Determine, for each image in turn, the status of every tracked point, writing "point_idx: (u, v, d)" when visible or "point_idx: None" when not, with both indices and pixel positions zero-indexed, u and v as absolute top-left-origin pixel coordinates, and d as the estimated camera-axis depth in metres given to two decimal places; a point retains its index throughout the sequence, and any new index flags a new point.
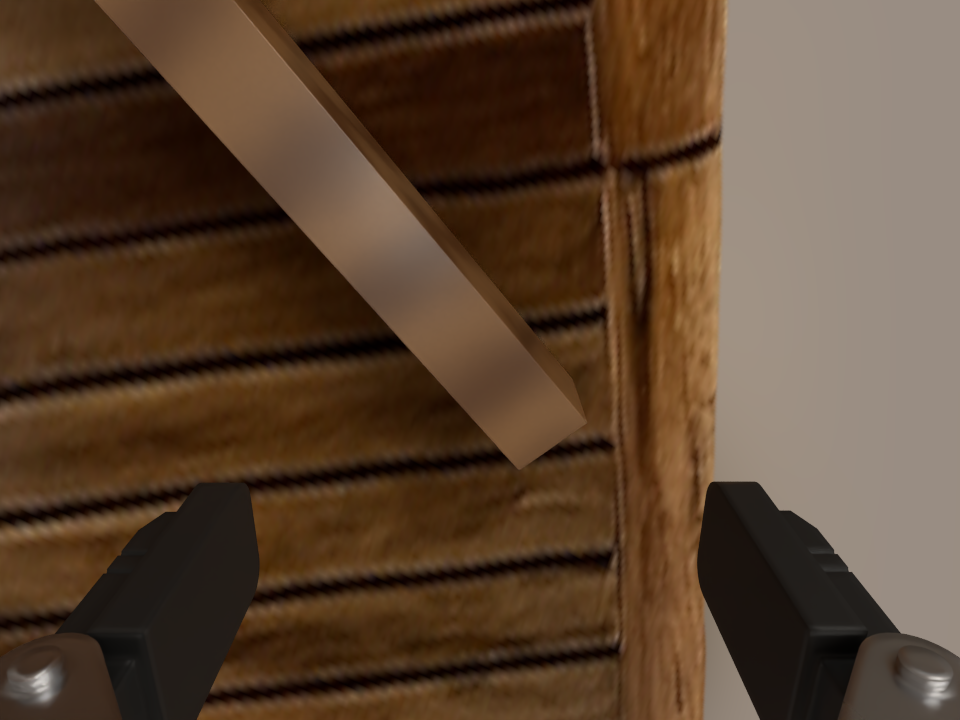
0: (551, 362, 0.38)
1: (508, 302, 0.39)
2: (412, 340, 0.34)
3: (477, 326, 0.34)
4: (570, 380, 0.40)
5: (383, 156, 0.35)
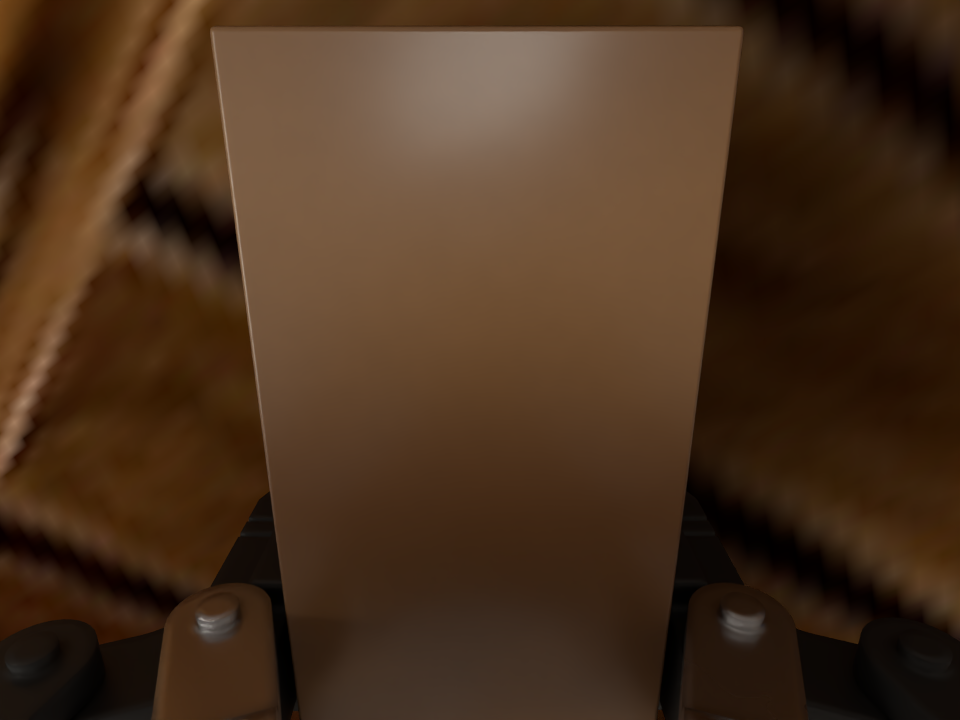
0: None
1: None
2: None
3: (385, 712, 0.09)
4: None
5: None
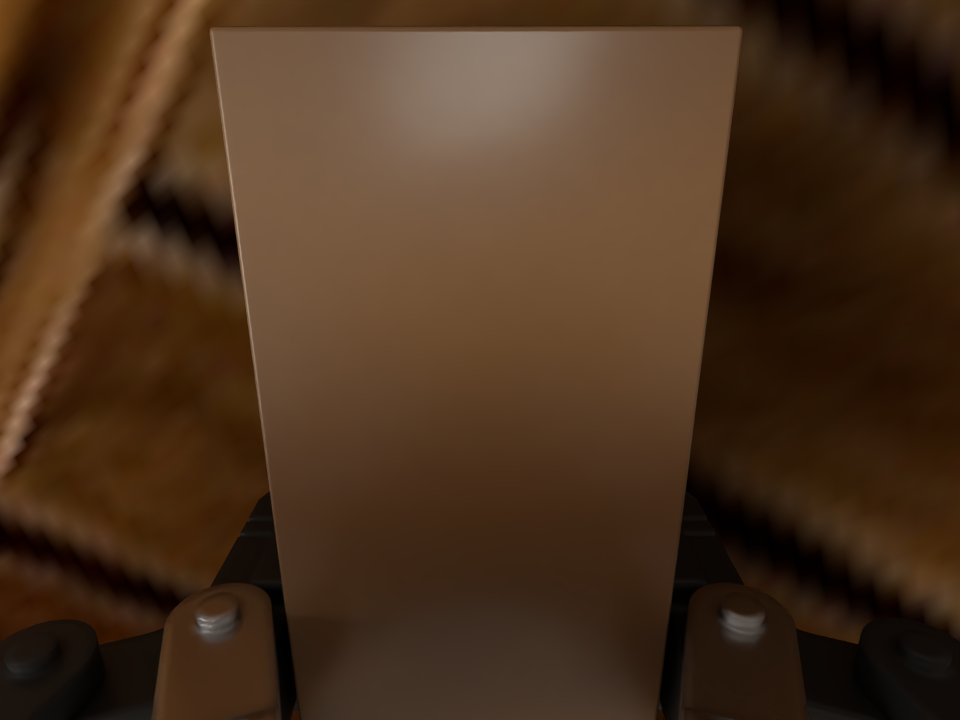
0: None
1: None
2: None
3: (385, 712, 0.09)
4: None
5: None
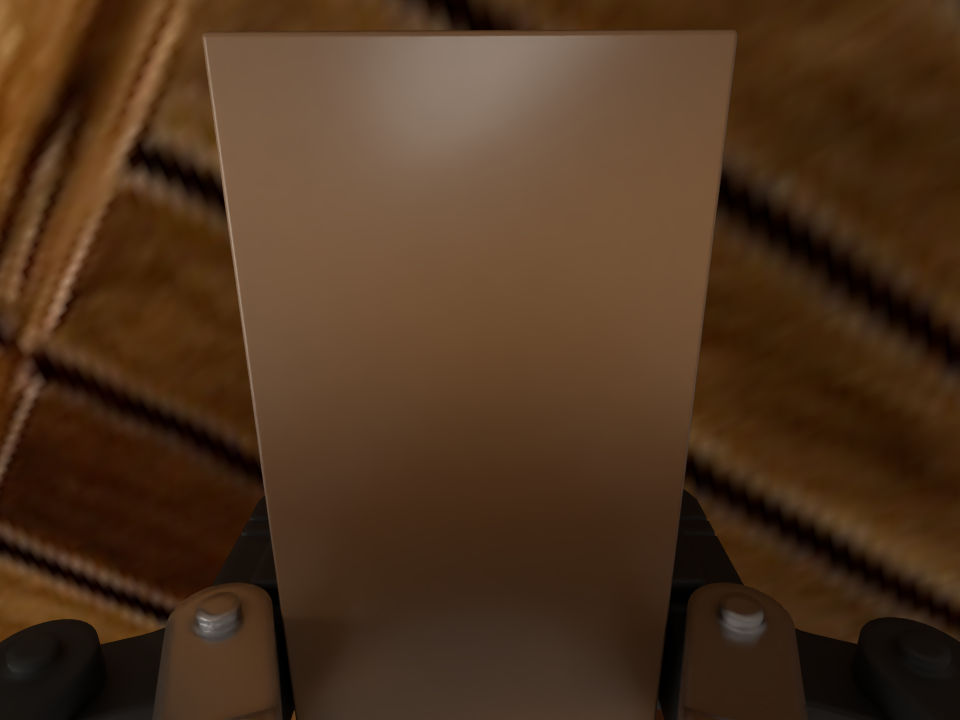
0: None
1: None
2: None
3: (383, 717, 0.09)
4: None
5: None
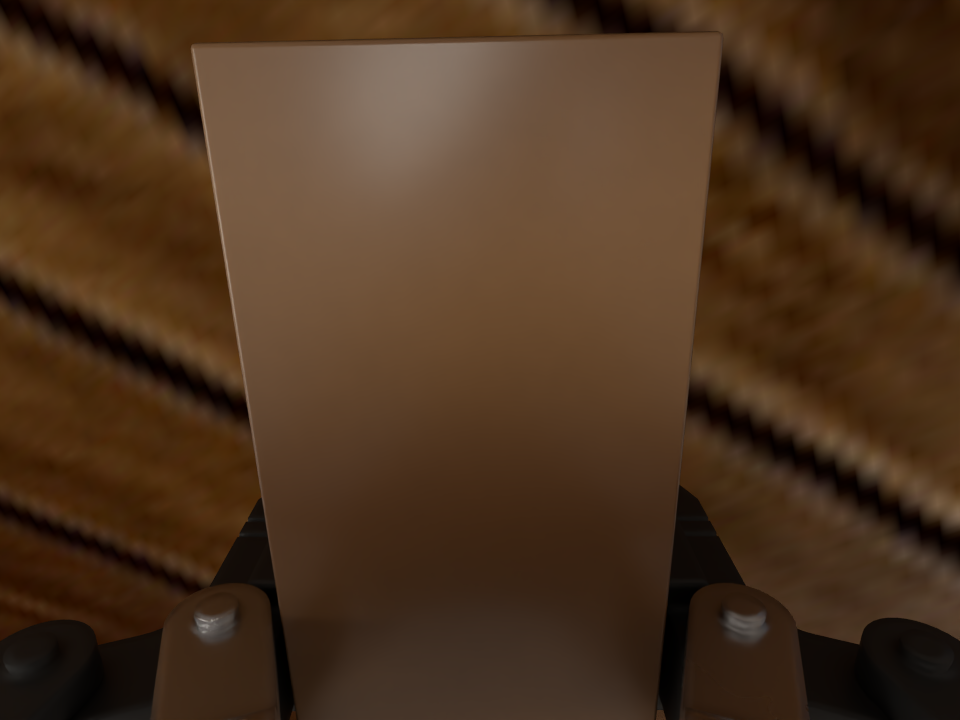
0: None
1: None
2: None
3: None
4: None
5: None
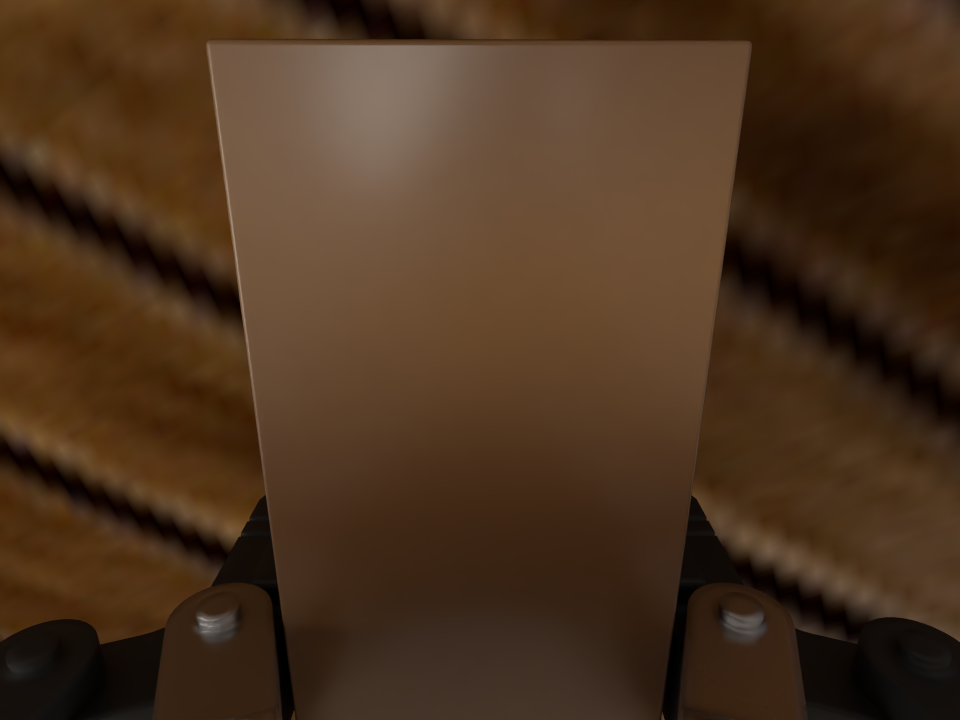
0: None
1: None
2: None
3: None
4: None
5: None
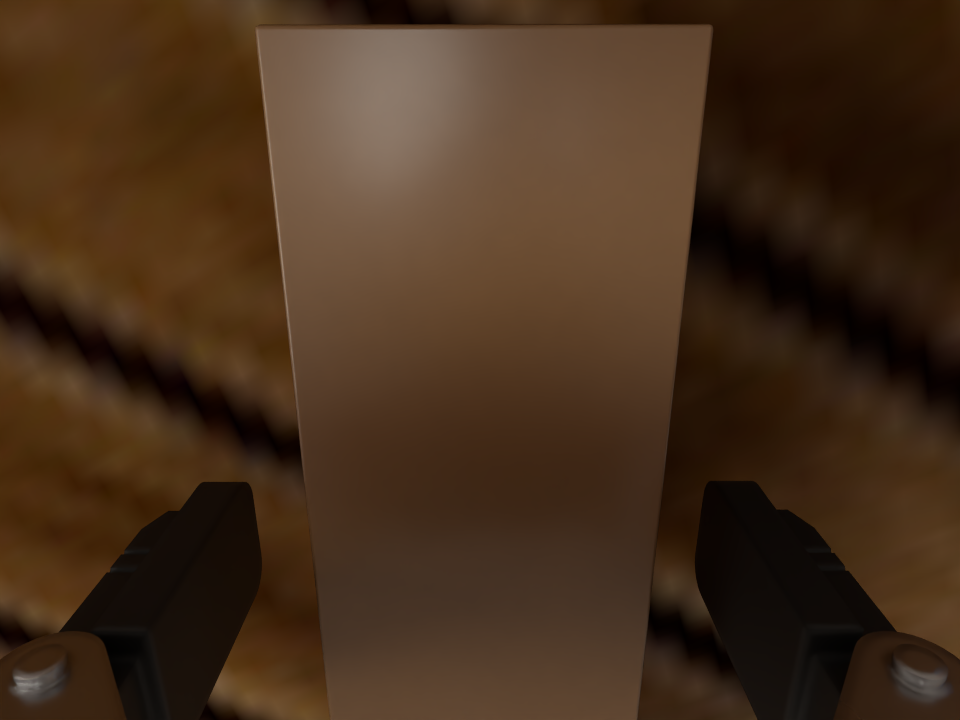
0: None
1: None
2: None
3: (401, 643, 0.09)
4: None
5: None
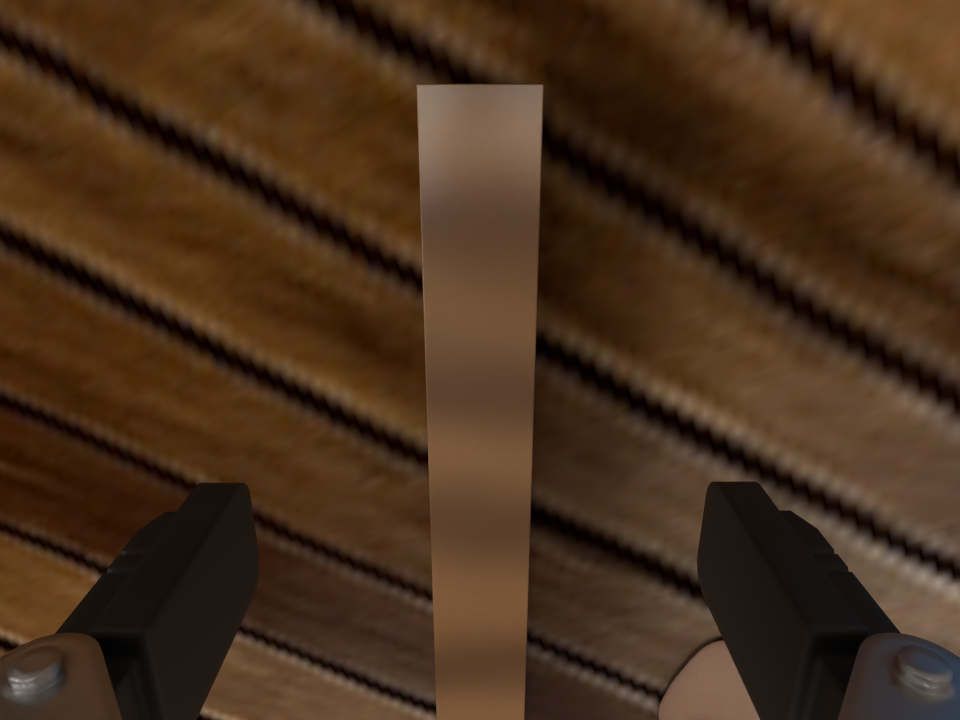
0: None
1: None
2: (525, 329, 0.27)
3: (451, 295, 0.27)
4: None
5: None
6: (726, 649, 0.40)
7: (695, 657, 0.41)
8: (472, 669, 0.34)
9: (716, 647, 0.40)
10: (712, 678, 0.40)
